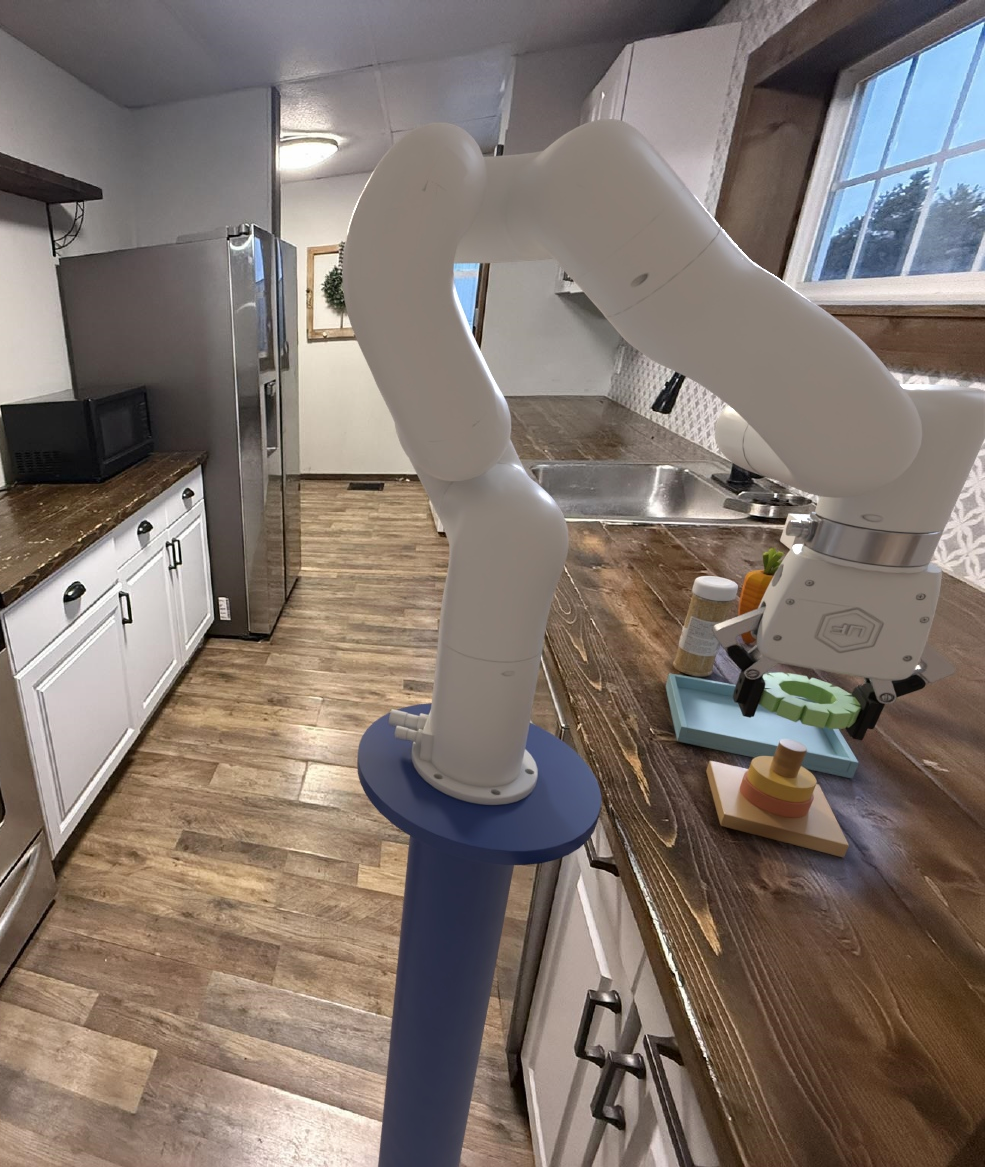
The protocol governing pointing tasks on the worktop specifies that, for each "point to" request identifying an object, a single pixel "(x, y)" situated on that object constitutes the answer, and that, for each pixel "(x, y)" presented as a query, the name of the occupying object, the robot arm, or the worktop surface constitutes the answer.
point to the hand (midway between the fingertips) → (796, 719)
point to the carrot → (758, 586)
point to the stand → (777, 800)
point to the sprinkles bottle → (704, 625)
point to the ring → (830, 712)
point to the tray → (749, 727)
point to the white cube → (792, 540)
